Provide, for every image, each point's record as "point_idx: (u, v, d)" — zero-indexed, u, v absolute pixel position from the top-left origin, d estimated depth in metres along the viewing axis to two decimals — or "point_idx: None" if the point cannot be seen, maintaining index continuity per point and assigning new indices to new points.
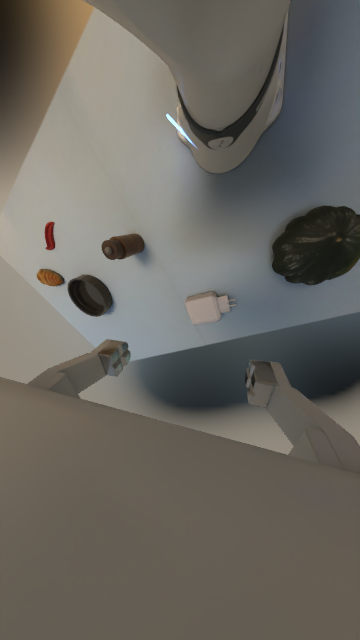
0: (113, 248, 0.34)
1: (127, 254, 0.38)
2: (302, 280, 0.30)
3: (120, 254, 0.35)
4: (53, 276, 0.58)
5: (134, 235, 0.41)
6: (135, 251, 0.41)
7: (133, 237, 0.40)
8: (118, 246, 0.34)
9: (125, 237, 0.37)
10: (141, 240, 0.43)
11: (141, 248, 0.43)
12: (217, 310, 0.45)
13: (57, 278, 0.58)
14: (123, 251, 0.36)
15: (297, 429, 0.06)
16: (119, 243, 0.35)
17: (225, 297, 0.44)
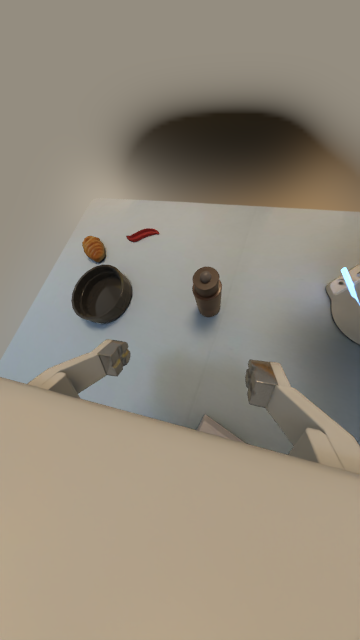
0: (213, 280, 0.23)
1: (209, 301, 0.26)
2: None
3: (208, 292, 0.24)
4: (99, 250, 0.47)
5: None
6: (210, 309, 0.30)
7: None
8: (217, 285, 0.23)
9: None
10: (219, 309, 0.34)
11: (212, 314, 0.33)
12: None
13: (100, 254, 0.46)
14: (212, 294, 0.25)
15: (297, 429, 0.06)
16: (218, 285, 0.25)
17: None
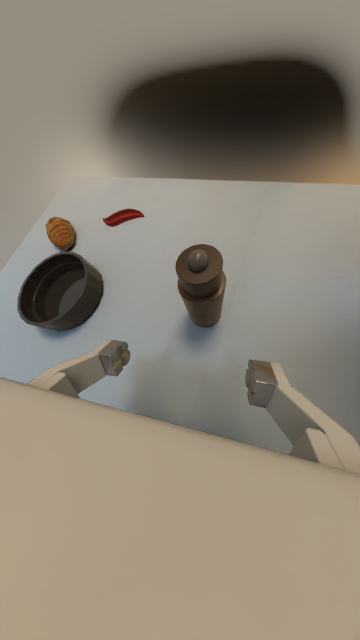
0: (211, 266, 0.13)
1: (203, 305, 0.16)
2: None
3: (203, 290, 0.13)
4: (66, 235, 0.36)
5: None
6: (206, 317, 0.19)
7: None
8: (219, 277, 0.13)
9: None
10: (219, 316, 0.23)
11: (210, 324, 0.23)
12: None
13: (66, 240, 0.36)
14: (209, 294, 0.14)
15: (297, 429, 0.06)
16: (221, 278, 0.14)
17: None
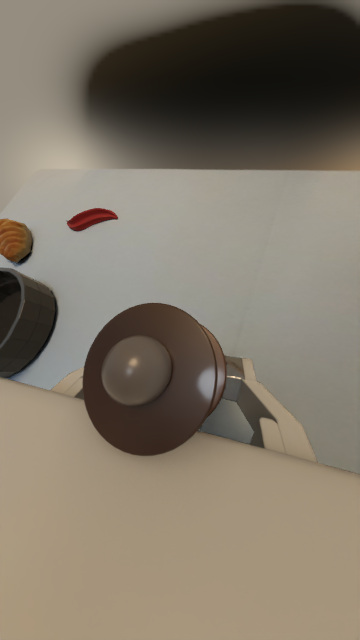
0: (181, 391, 0.04)
1: None
2: None
3: None
4: (15, 243, 0.27)
5: None
6: None
7: None
8: None
9: None
10: None
11: None
12: None
13: (15, 250, 0.27)
14: None
15: (258, 420, 0.06)
16: None
17: None
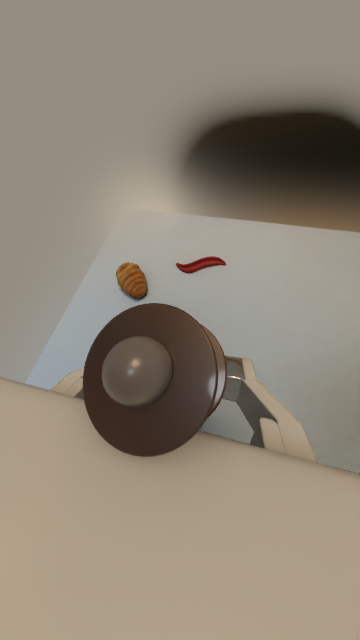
0: (181, 392, 0.04)
1: None
2: None
3: None
4: (141, 284, 0.34)
5: None
6: None
7: None
8: None
9: None
10: None
11: None
12: None
13: (142, 290, 0.34)
14: None
15: (258, 420, 0.06)
16: None
17: None
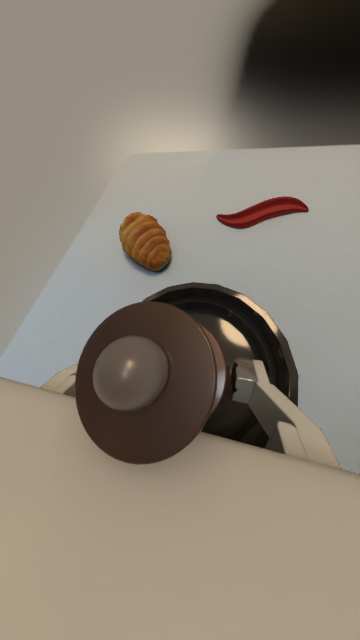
0: (178, 395, 0.04)
1: None
2: None
3: None
4: (163, 245, 0.20)
5: None
6: None
7: None
8: None
9: None
10: None
11: None
12: None
13: (164, 254, 0.20)
14: None
15: (273, 424, 0.06)
16: None
17: None
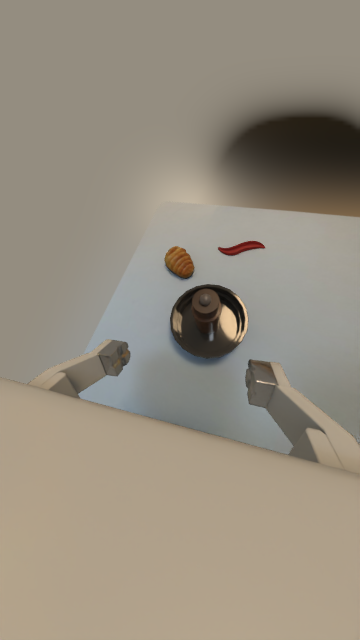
0: (213, 303, 0.22)
1: (208, 323, 0.25)
2: None
3: (208, 315, 0.23)
4: (190, 264, 0.38)
5: None
6: (209, 328, 0.29)
7: None
8: (217, 308, 0.23)
9: None
10: None
11: (211, 332, 0.32)
12: None
13: (191, 269, 0.38)
14: (211, 316, 0.24)
15: (297, 429, 0.06)
16: (218, 307, 0.24)
17: None
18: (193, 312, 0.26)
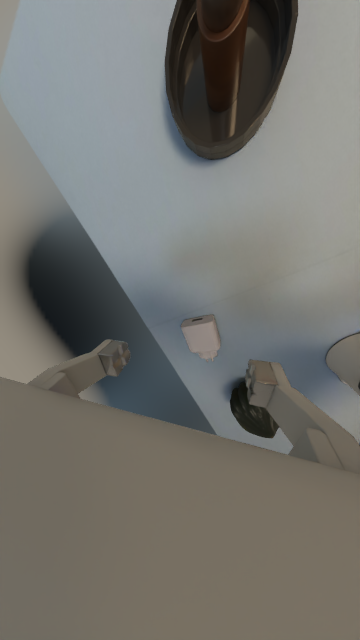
0: None
1: (206, 44, 0.16)
2: (239, 413, 0.43)
3: (208, 7, 0.14)
4: None
5: (238, 80, 0.21)
6: (210, 80, 0.20)
7: (236, 74, 0.19)
8: None
9: (241, 41, 0.16)
10: (227, 103, 0.23)
11: (214, 103, 0.23)
12: (203, 351, 0.43)
13: None
14: (214, 25, 0.15)
15: (297, 429, 0.06)
16: (234, 7, 0.14)
17: (215, 354, 0.44)
18: None
